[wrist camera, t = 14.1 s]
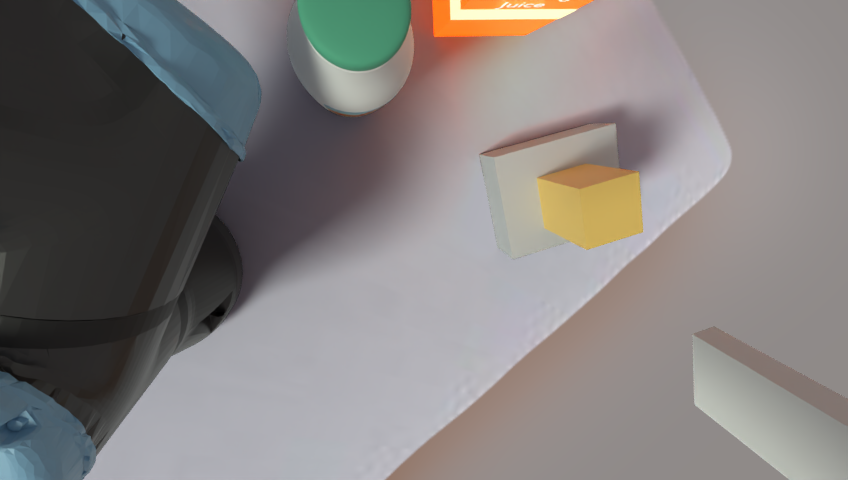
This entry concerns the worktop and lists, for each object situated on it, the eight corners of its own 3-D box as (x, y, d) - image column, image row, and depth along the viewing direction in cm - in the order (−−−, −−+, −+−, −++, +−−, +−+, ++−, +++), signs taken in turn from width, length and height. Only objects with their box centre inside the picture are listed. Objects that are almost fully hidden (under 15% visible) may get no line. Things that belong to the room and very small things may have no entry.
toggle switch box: (497, 247, 42) (533, 276, 34) (479, 154, 39) (514, 161, 31) (599, 216, 43) (658, 236, 35) (589, 123, 40) (651, 122, 32)
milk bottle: (296, 103, 34) (235, 73, 15) (314, 8, 33) (271, -154, 14) (381, 128, 36) (422, 129, 17) (403, 40, 35) (473, -65, 16)
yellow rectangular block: (544, 228, 38) (586, 249, 31) (536, 177, 36) (579, 189, 30) (591, 213, 38) (643, 232, 32) (585, 163, 37) (638, 171, 30)
